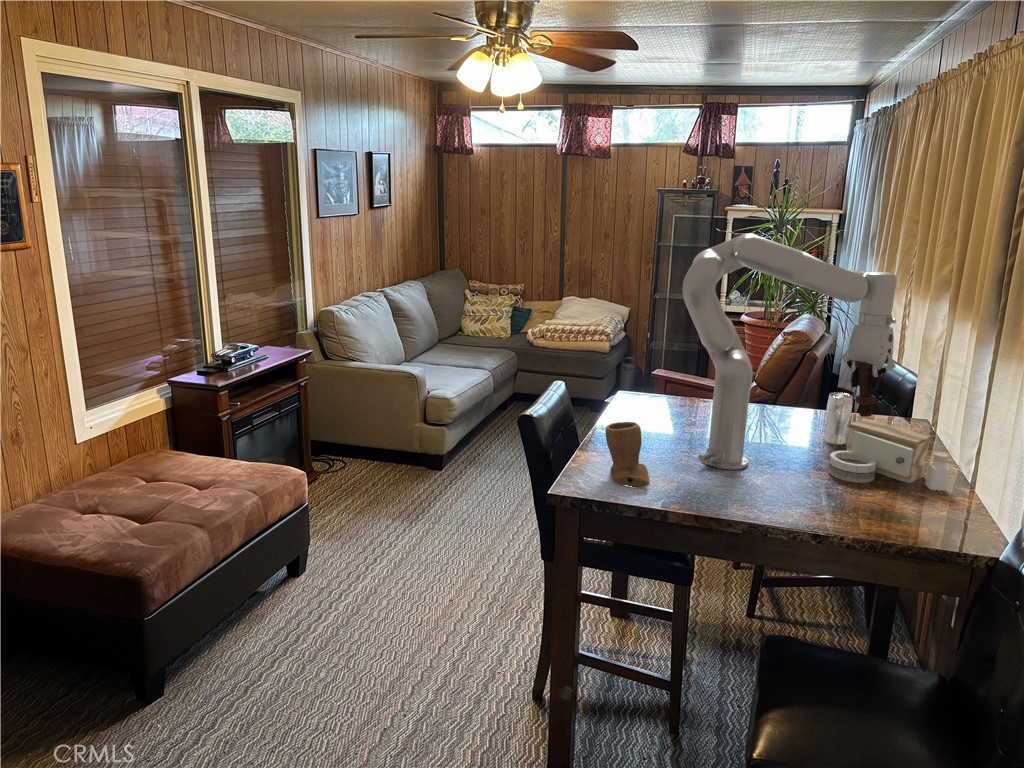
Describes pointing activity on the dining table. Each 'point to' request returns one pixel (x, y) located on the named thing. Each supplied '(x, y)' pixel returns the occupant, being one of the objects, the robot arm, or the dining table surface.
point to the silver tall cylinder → (837, 417)
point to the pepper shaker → (938, 473)
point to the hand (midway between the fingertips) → (863, 387)
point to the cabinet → (893, 435)
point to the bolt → (865, 389)
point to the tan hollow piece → (626, 454)
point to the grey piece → (874, 455)
